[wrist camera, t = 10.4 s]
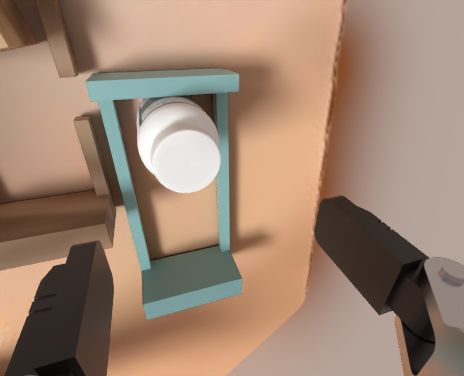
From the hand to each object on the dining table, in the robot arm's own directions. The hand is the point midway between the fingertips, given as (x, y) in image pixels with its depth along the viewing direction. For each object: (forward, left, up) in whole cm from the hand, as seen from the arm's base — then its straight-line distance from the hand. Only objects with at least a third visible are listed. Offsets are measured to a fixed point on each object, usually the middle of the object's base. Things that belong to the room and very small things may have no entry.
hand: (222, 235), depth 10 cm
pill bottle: (0, 0, -17) cm, 17 cm away
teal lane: (-7, 0, -16) cm, 18 cm away
